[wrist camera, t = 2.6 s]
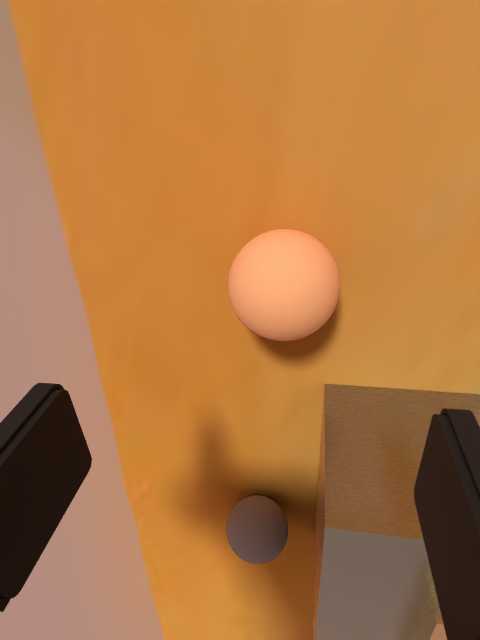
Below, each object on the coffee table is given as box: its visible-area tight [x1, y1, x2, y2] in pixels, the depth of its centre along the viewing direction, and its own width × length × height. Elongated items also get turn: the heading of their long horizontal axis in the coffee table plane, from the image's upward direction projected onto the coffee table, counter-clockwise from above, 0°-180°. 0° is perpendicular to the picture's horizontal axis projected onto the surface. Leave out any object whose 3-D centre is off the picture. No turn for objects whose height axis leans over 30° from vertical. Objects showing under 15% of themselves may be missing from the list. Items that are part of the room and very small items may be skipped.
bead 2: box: [227, 495, 288, 564], centre depth 26 cm, size 4×4×4 cm
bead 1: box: [228, 229, 340, 341], centre depth 16 cm, size 4×4×4 cm
